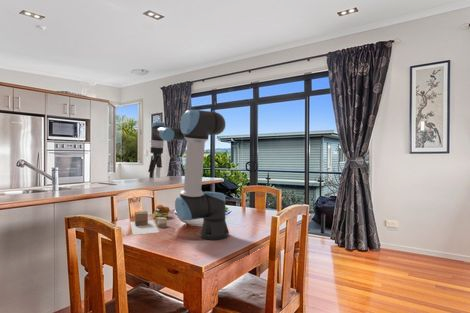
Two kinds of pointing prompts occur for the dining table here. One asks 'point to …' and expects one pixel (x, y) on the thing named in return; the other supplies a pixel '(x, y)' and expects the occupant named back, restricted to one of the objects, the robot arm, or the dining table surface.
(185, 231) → the dining table surface
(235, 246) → the dining table surface
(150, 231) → the placemat
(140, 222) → the walnut block
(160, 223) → the maple block
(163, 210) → the cheeseburger
